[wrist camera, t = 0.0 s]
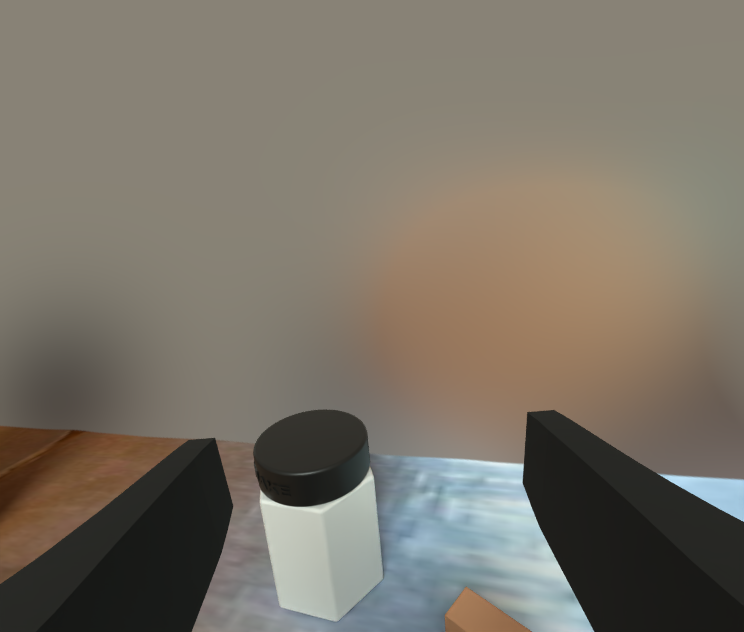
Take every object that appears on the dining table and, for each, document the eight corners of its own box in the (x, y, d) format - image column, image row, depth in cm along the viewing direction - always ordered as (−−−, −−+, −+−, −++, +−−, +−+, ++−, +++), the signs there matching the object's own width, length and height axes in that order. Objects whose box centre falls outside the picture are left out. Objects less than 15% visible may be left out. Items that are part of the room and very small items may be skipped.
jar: (277, 537, 35) (255, 417, 32) (367, 516, 36) (355, 399, 33) (276, 641, 26) (246, 490, 23) (393, 607, 28) (380, 462, 25)
